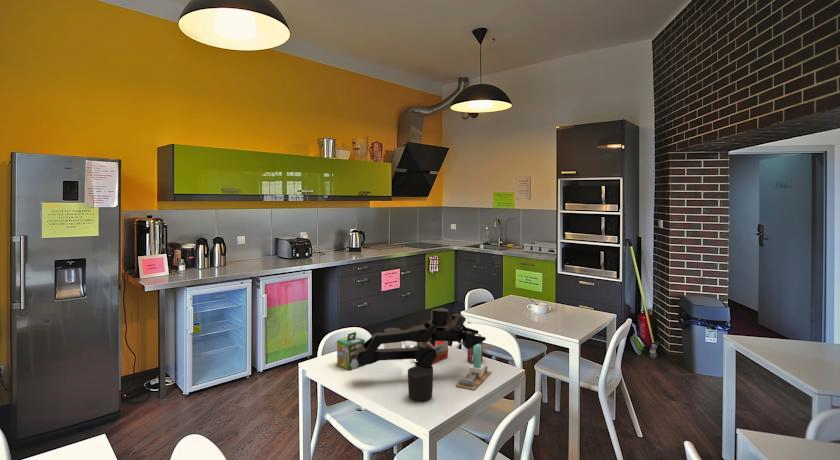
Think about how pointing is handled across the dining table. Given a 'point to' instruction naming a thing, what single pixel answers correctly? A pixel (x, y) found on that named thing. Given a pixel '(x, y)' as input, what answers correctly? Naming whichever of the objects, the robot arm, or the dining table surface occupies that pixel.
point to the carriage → (477, 361)
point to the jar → (392, 345)
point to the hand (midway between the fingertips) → (481, 335)
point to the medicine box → (440, 350)
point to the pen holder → (420, 384)
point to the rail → (472, 380)
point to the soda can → (470, 351)
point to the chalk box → (348, 351)
